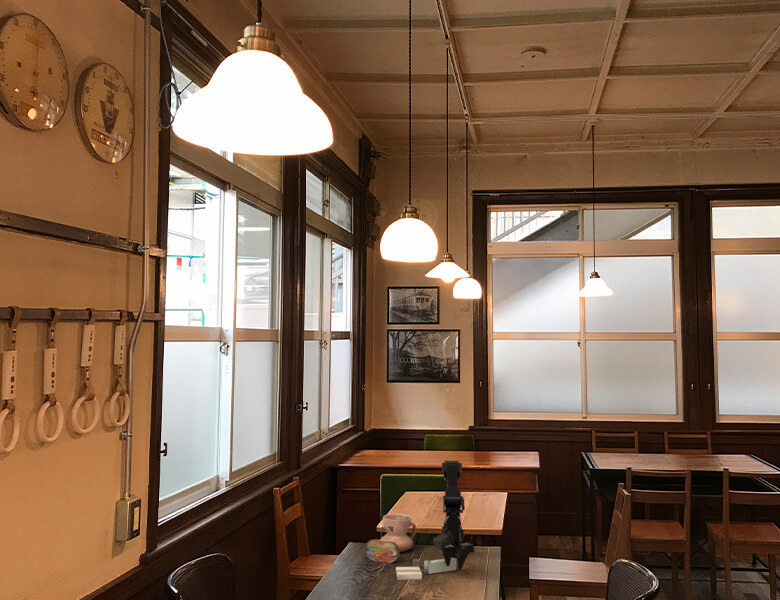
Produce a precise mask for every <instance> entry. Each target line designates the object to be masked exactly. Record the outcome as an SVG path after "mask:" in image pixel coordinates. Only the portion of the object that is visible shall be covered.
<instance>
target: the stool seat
mask: <svg viewBox="0 0 780 600" xmlns="http://www.w3.org/2000/svg"><path fill="white" fill-rule="evenodd" d="M395 574H396V578H397V580H398V581H403V580H405V581H407V580H410V581H411V580H423V573H422V571H421V568H420V566H419V567H413V566H396V567H395Z"/></svg>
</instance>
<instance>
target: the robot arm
mask: <svg viewBox="0 0 780 600" xmlns="http://www.w3.org/2000/svg"><path fill="white" fill-rule="evenodd" d="M441 472H443V478H444V479H445V481H446V484H447V485H446V487H447V488H446V489H445V490H444V495H442V502H443V503H442V504H443V505H442V512H443V513H445V519H444V520H443V526H441V533H440V534H439V535H437V536H435V537H434V538H433V539H432V541H433V547H434V548H435V549H438V550H439V551H440V552H441V553H442V556H443V559H445V562H446V566H449V565H450V561H451V558H456V564H457V570H458V571H462V569H463V566H464V563H465V562H466V560H467V558H468V556H469V554H471V553H474V552H475V546H474V544H472V543H469V542H464V529H463V527H462V519H461V514H463V513H464V511H465V499H464V496H463V495H462V494H461V493H462V491H461V489H460V488H459V487H458V481H459V480H460V477H461V473H462V472H463V463H462V462H460V461H459V460H444V462H442V463H441Z"/></svg>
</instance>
